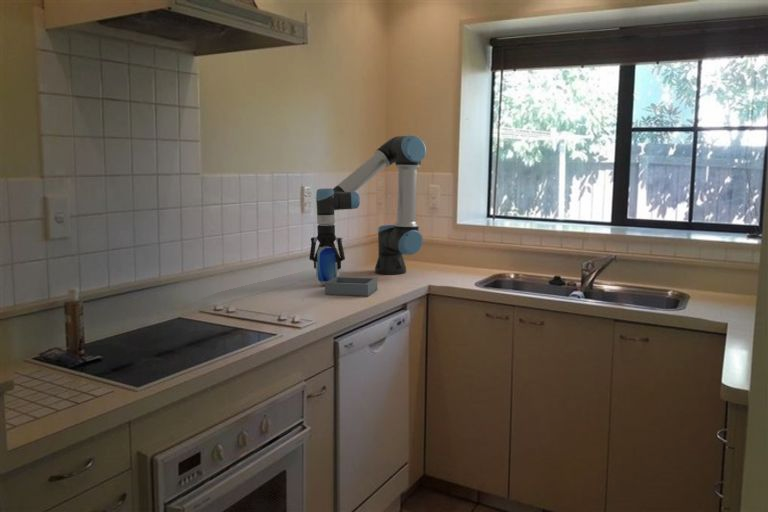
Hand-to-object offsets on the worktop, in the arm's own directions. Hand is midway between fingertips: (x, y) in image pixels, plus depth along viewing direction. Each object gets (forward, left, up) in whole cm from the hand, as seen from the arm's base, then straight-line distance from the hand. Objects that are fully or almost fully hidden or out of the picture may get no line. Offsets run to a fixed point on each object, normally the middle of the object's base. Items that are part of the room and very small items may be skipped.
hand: (327, 276), depth 287 cm
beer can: (0, 0, -3) cm, 3 cm away
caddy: (+12, +15, -4) cm, 20 cm away
